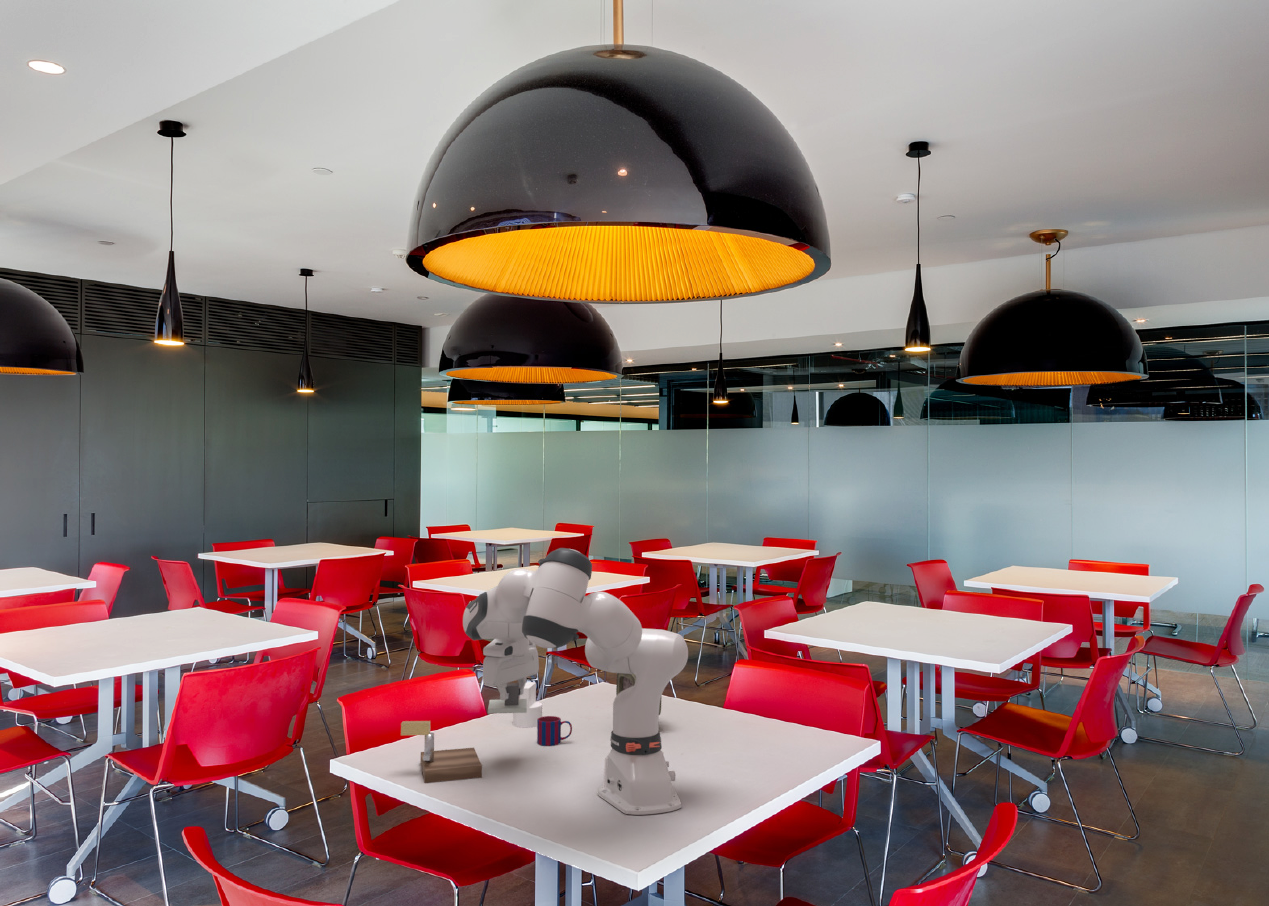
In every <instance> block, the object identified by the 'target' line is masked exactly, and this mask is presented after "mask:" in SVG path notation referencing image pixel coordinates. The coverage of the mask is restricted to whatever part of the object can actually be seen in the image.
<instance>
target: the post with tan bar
mask: <svg viewBox="0 0 1269 906" xmlns="http://www.w3.org/2000/svg"><path fill="white" fill-rule="evenodd" d="M400 736H424V745H423V746H424V751H423V752H424V756H423V761H425V762H432V761H434V751H435V733H434V732H431V720H410V721H409V720H405V721H402V722H401V723H400Z"/></svg>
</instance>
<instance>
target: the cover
mask: <svg viewBox="0 0 1269 906" xmlns="http://www.w3.org/2000/svg"><path fill="white" fill-rule="evenodd" d="M505 689H506V692H507V693H509V699H507V700H501V699H489V702H488V708H487V714H489V715H490V714H491V715H493V714H513V713H527V699H519V683H518V682H515V683H513V682H509V683H507V687H505Z"/></svg>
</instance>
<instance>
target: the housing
mask: <svg viewBox="0 0 1269 906" xmlns="http://www.w3.org/2000/svg"><path fill="white" fill-rule="evenodd" d="M423 756H424V751H420V768H421V772H422V777H423V781H424V784H426V783H427V784H429V783H430V784H431V783H439V782H448V781H450V782H451V781H458V780H459V781H460V780H461V781H462V780H469V779H479V778H482V775H483V772H482V771H483V765H482V762H481V760H480V758H479V756H478V753H477V752H476V749H475V747H465V748H453V749H441V750H434V761H432V762H425V761H423Z"/></svg>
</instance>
